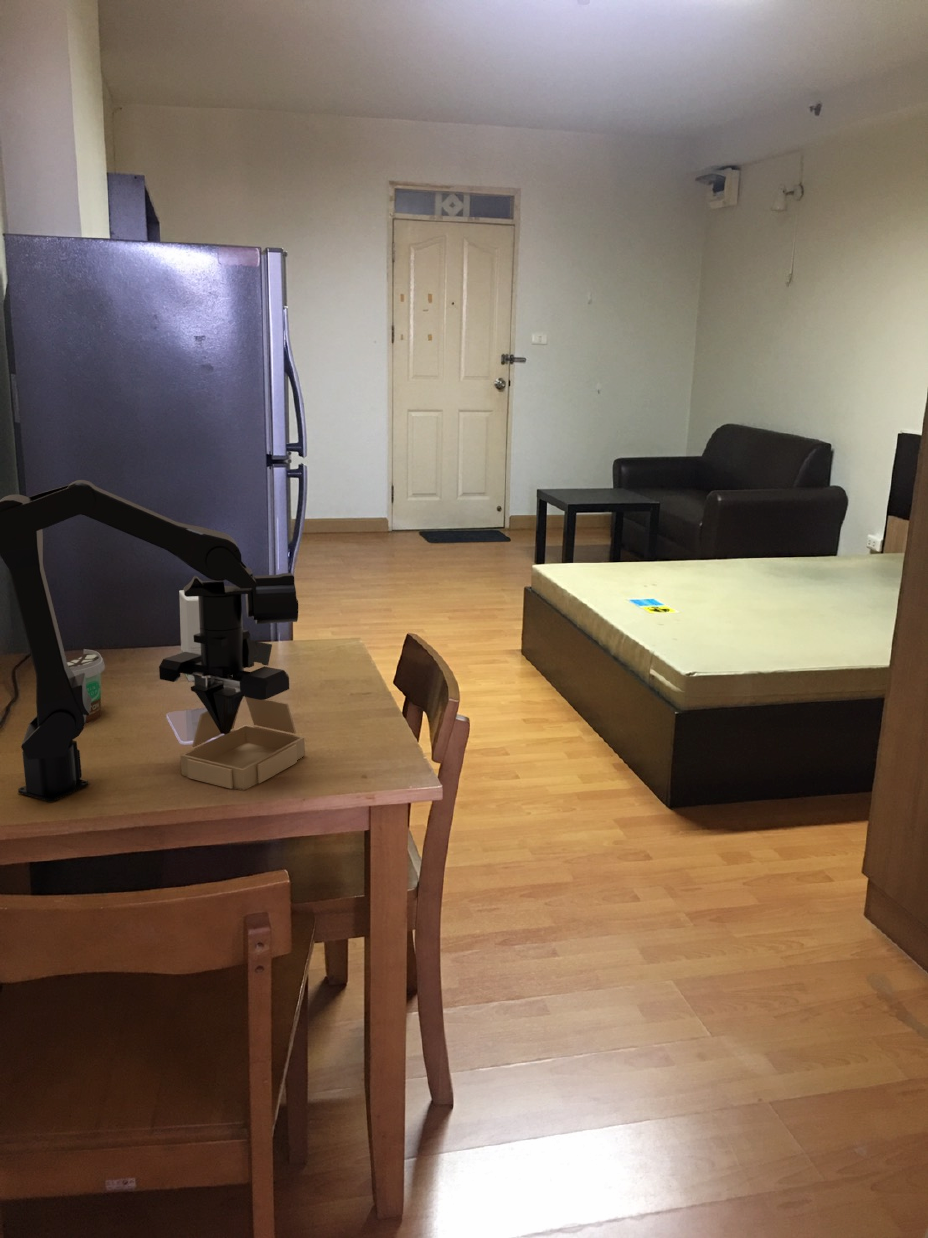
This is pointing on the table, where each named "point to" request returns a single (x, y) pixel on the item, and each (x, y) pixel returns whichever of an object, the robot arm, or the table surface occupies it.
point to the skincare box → (189, 625)
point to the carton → (243, 757)
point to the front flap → (271, 714)
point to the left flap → (207, 728)
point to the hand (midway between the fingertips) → (225, 733)
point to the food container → (90, 679)
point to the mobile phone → (186, 724)
